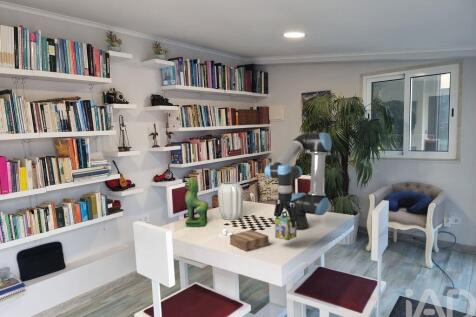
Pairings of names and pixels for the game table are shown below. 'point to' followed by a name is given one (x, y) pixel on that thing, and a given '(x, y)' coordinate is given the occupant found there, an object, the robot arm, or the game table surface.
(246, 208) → the game table surface
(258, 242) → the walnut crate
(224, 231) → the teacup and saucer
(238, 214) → the vase
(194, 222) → the lion statue
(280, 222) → the chalk box
